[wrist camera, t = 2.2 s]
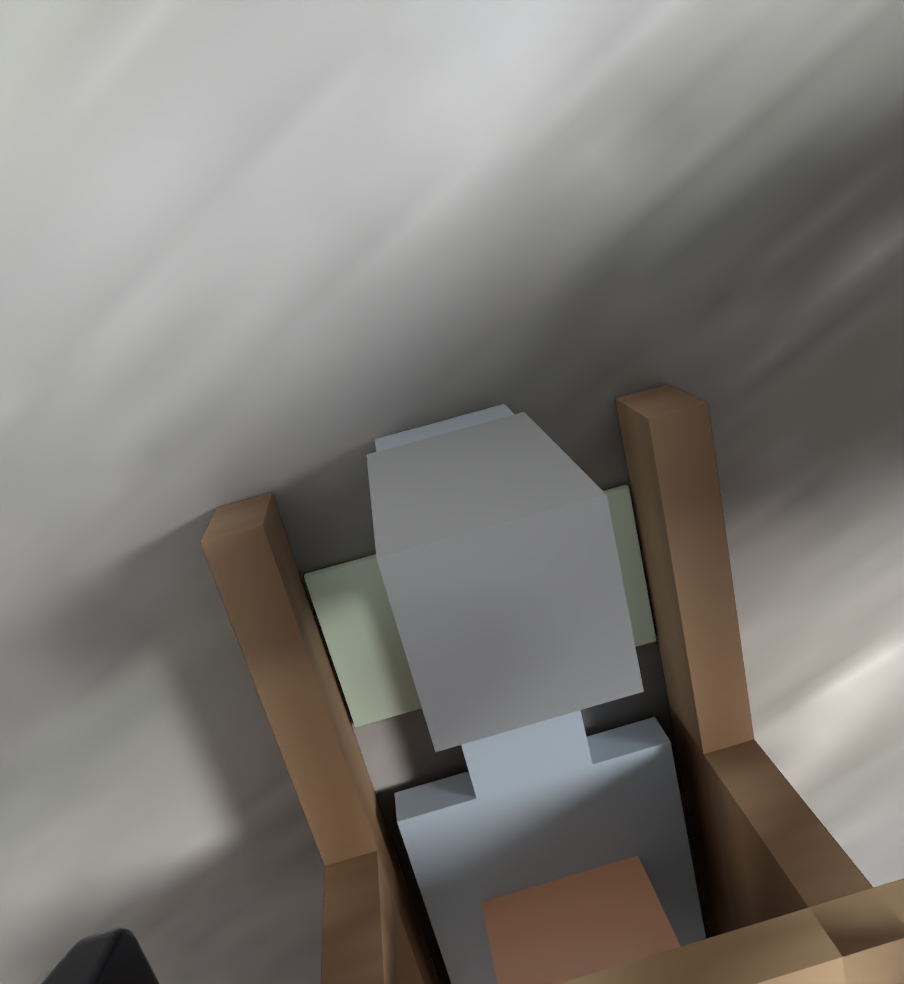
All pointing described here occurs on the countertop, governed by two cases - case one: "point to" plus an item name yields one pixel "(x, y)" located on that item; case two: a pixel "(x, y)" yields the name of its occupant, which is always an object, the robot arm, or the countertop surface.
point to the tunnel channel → (694, 709)
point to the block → (577, 925)
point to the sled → (518, 678)
